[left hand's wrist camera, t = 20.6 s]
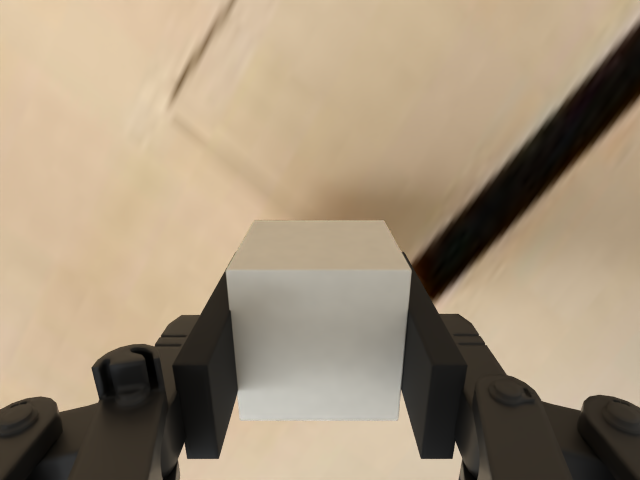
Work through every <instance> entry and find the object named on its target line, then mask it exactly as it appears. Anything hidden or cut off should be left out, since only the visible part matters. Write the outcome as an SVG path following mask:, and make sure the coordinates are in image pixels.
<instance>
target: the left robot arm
mask: <svg viewBox="0 0 640 480" xmlns="http://www.w3.org/2000/svg"><path fill="white" fill-rule="evenodd" d="M235 253H236V252H235ZM402 254H403V256H404V257H405V259H406V261H407V263H408V265H409V266H410V268H411V270H412V273H411V284H410V295H409V306H408V317H407V328H406V340H405V351H404V362H403V373H402V384H401V390H402V393H403V397H404V401H405V404H406V408H407V411H408V415H409V418H410V422H411V425H412V429H413V432H414V436H415V439H416V443H417V446H418V450H419V454H420V457H421V459H452V458H453V452H454V446H455V441H456V444H457V446H458V449H459V451H460V454H461V456H462V464H461V469H460V475H459V480H640V408H639V407H637V406H635V405H633V404H632V403H630V402H628V401H625V400H622V399H619V398H616V397H612V396H604V395H596V396H590V397H588V398H587V399H586V400H585V401H584V403H583V406H582V409H581V411H580V410H575V409H571V408H566V407H562V406H558V405H553V404H550V403H546V402H543V401H541V399H540V397H539V396H538V394H537V393H536V392H535V390H534V389H532V388H531V387H530V386H529V385H527V384H526V383H525V382H523V381H521V380H519V379H517V378H515V377H512V376H508V375H507V374H506V373H505V372H504V370H503V369H502V367H501V366H500V364H499V363H498V361H497V360H496V358H495V357H494V356H493V354H492V353H491V351H490V350H489V348H488V347H487V345H485V342H484V341H483V339H482V338H481V337H480V336H479V334H478V332H477V331H476V329H475V328H474V326H473V325H472V323H470V322H469V321H468V320H466V319H465V318H463V317H462V316H460V315H459V314H439V313H438V312H437V310H436V308H435V306H434V305H433V303H432V301H431V299H430V297H429V296H428V294H427V292H426V290H425V288H424V287H423V285H422V283H421V281H420V280H419V278H418V276H417V274H416V272H415V271H414V269H413V267H412V265H411V264H410V262H409V260H408V258H407V256H406V255H405V253H404V252H402ZM234 255H235V254H234ZM233 257H234V256H233ZM232 259H233V258H232ZM230 262H231V261H230ZM229 264H230V263H229ZM228 266H229V265H228ZM226 269H227V268H226ZM92 372H93V376H94V380H95V384H96V388H97V392H98V396H99V402H98V403H96V404H92V405H89V406H85V407H81V408H76V409H72V410H67V411H63V412H59V410H58V407H57V404H56V402H54V401H53V400H52V399H51V398H46V397H34V398H27V399H24V400H20V401H17V402H15V403H12V404H10V405H8V406H6V407H4V408H2V409H1V410H0V480H180V470H179V464H178V457H179V455H180V452H181V450H182V447H183V445H184V442H185V448H186V454H187V459H219V456H220V453H221V449H222V446H223V442H224V438H225V435H226V431H227V428H228V424H229V421H230V417H231V414H232V410H233V407H234V403H235V400H236V396H237V393H238V384H237V373H236V363H235V352H234V341H233V330H232V319H231V310H229V300H228V289H227V278H226V270H225V272H224V274H223V276H222V277H221V279H220V281H219V283H218V284H217V286H216V288H215V290H214V292H213V293H212V295H211V297H210V299H209V300H208V302H207V304H206V306H205V308H204V309H203V311H202V313H201V315H181V316H180V317H178V318H177V319H176V320H174V321H173V322H171V323H170V324H169V325H168V326H167V327H166V329H165V330H164V332H163V333H162V335H161V337H160V338H159V339H158V341H157V342H156V344H155V347H154V346H150V345H146V344H133V345H128V346H124V347H120V348H118V349H115V350H113V351H111V352H108V353H107V354H105V355H104V356H102V357H101V358H100V359H98V360H97V361H96V363H95V364H94V365H93V367H92Z"/></svg>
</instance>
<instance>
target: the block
mask: <svg viewBox="0 0 640 480" xmlns="http://www.w3.org/2000/svg"><path fill="white" fill-rule="evenodd" d="M411 273H412V270H411V268H410V266H409V265H408V263H407V261H406V259H405V257H404V256H403V254H402V252H401V250H400V248H399V246H398V245H397V243H396V241H395V239H394V237H393V235H392V234H391V232H390V230H389V228H388V226H387V224H386V223H385V221H384V220H254V222H253V223H252V225H251V227H250V229H249V230H248V232H247V234H246V236H245V238H244V239H243V241H242V243H241V245H240V246H239V248H238V250H237V252H236V253H235V255H234V257H233V259H232V260H231V262H230V264H229V266H228V267H227V269H226V278H227V289H228V300H229V310H231V319H232V330H233V341H234V352H235V363H236V373H237V384H238V393H237V396H238V406H239V417H240V420H372V421H397V420H398V417H399V406H400V395H401V384H402V373H403V362H404V351H405V340H406V328H407V317H408V306H409V295H410V284H411Z"/></svg>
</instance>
